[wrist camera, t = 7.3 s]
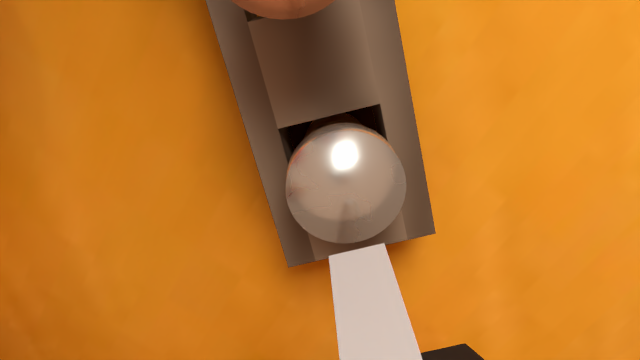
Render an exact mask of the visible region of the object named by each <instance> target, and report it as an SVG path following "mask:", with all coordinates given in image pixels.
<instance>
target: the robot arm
mask: <svg viewBox="0 0 640 360" xmlns="http://www.w3.org/2000/svg"><path fill="white" fill-rule="evenodd" d="M329 264H330V274H331V283H332V292H333V302H334V311H335V320H336V329H337V339H338V348H339V357H340V360H484V359H483V358H482V357H481V356H479V355H478V354H477V353H476V352H475V351H474V350H472V349H471V348H470V347H469V346H468V345H466V344H460V345H456V346H451V347H447V348H442V349H437V350H433V351H428V352H424V353H420V351H419V347H418V344H417V341H416V338H415V335H414V332H413V329H412V326H411V323H410V320H409V317H408V314H407V311H406V308H405V305H404V302H403V299H402V296H401V293H400V289H399V286H398V283H397V280H396V277H395V274H394V271H393V268H392V265H391V262H390V259H389V256H388V253H387V250H386V247H385V244H384V243H382V244H378V245H373V246H369V247H365V248H361V249H356V250H352V251H348V252H343V253H339V254H335V255H330V256H329Z"/></svg>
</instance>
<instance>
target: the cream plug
mask: <svg viewBox="0 0 640 360" xmlns="http://www.w3.org/2000/svg"><path fill="white" fill-rule="evenodd" d="M405 194H406V177H405V172H404V169H403V166H402V164H401V162H400V160H399V158H398V157H397V155H396V153H395V151H394V150H393V148H392V146H391V145H390V144H389V143H388V141H387V140H386V139H385V138H384V137H383V136H381V135H380V134H379V133H377V132H376V131H374V130H372V129H370V128H368V127H366V126H363V125H362V124H361V123H360V122H359V121H358V120H357V119H356V118H354V117H353V116H351V115H349V114H346V113H340V114H336V115H332V116H328V117H324V118H320V119H316V120H314V121H313V122H312V123H311V124H310V126H309V127H308V129H307V131H306V134H305V137H304V139H303V140H302V141H301V142H300V144H299V145H298V146H297V147H296V149H295V150H294V152H293V154H292V156H291V158H290V161H289V164H288V168H287V176H286V199H287V203H288V206H289V209H290V211H291V213H292V215H293V217H294V218H295V220H296V221H297V222H298V223H299V224H300V226H301V227H302V228H303V229H305V230H306V231H307V232H309V233H310V234H312V235H313V236H315V237H317V238H320V239H322V240H325V241H328V242H334V243H354V242H360V241H363V240H366V239H369V238H371V237H373V236H375V235H377V234H378V233H380V232H381V231H383V230H384V229H385V228H387V227H388V226H389V225H390V224H391V223H392V221H393V220H394V219H395V218H396V216H397V215H398V213H399V212H400V209H401V207H402V205H403V202H404V199H405Z"/></svg>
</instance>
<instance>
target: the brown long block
mask: <svg viewBox="0 0 640 360" xmlns="http://www.w3.org/2000/svg"><path fill="white" fill-rule="evenodd" d="M206 4H207V7H208V10H209V13H210V17H211V20H212V23H213V26H214V29H215V33H216V36H217V39H218V42H219V45H220V49H221V52H222V55H223V58H224V62H225V65H226V68H227V71H228V74H229V78H230V81H231V84H232V87H233V90H234V94H235V97H236V100H237V103H238V107H239V110H240V113H241V116H242V119H243V123H244V126H245V129H246V132H247V135H248V139H249V142H250V145H251V148H252V152H253V155H254V158H255V161H256V164H257V168H258V171H259V174H260V177H261V180H262V184H263V187H264V190H265V193H266V197H267V200H268V203H269V206H270V209H271V213H272V216H273V219H274V222H275V225H276V229H277V232H278V235H279V238H280V242H281V245H282V248H283V251H284V254H285V258H286V261H287V264H288V267H293V266H297V265H301V264H305V263H310V262H314V261H318V260H323V259H327V258H329V256H330V255H335V254H339V253H343V252H348V251H352V250H356V249H361V248H365V247H369V246H373V245H378V244H382V243H384V244H385V245H388V244H392V243H396V242H401V241H405V240H409V239H414V238H418V237H422V236H427V235H431V234H435V227H434V222H433V216H432V210H431V205H430V199H429V193H428V188H427V182H426V176H425V171H424V165H423V159H422V154H421V148H420V142H419V137H418V131H417V125H416V120H415V114H414V108H413V103H412V97H411V92H410V86H409V80H408V75H407V69H406V63H405V58H404V52H403V46H402V41H401V35H400V29H399V24H398V18H397V12H396V7H395V1H394V0H335V1H334V2H332V3H331V4H330V5H328V6H327V7H325V8H324V9H322V10H320V11H318V12H316V13H314V14H311V15H308V16H305V17H301V18H296V19H284V20H281V19H270V18H266V17H262V16H260V17H257V15H256V14H253V13H251V12H249V11H247V10H245V9H243V8H241V7H239V6H238V5H237V4H235V3H234V2H232V1H231V0H206ZM368 106H372V111H373V116H374V121H375V126H376V130H377V133H379V134H380V135H381V136H383V137H384V138H385V139H386V140H387V141H388V143H389V144H390V145H391V146H392V148H393V150H394V151H395V153H396V155H397V157H398V158H399V160H400V162H401V164H402V166H403V169H404V172H405V177H406V194H405V199H404V202H403V205H402V207H401V209H400V212H399V213H398V215H397V216H396V218H395V219H394V220H393V221H392V223H391V224H390V225H389V226H388V227H387V228H385V229H384V230H383V231H381V232H380V233H378V234H377V235H375V236H373V237H371V238H369V239H366V240H363V241H360V242H354V243H334V242H328V241H325V240H322V239H320V238H317V237H315V236H313V235H312V234H310V233H309V232H307V231H306V230H305V229H303V228H302V227H301V226H300V224H299V223H298V222H297V221H296V220H295V218H294V217H293V215H292V213H291V211H290V209H289V206H288V203H287V199H286V176H287V168H288V164H289V161H290V158H291V156H292V154H293V152H294V147H293V144H292V140H291V137H290V133H289V129H288V126H292V125H296V124H300V123H304V122H308V121H312V120H316V119H320V118H324V117H328V116H332V115H336V114H340V113H344V112H348V111H352V110H356V109H360V108H364V107H368Z"/></svg>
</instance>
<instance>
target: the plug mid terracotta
mask: <svg viewBox="0 0 640 360" xmlns="http://www.w3.org/2000/svg"><path fill="white" fill-rule="evenodd" d="M231 1H232V2H234V3H235V4H237V5H238V6H239V7H241V8H243V9H245V10H247V11H249V12H251V13H253V14H256V15H259V16H262V17H266V18H270V19H281V20H284V19H296V18H301V17H305V16H308V15H311V14H314V13H316V12H318V11H320V10H322V9H324V8H325V7H327V6H328V5H330V4H331V3H332V2H334V1H335V0H231Z"/></svg>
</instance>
